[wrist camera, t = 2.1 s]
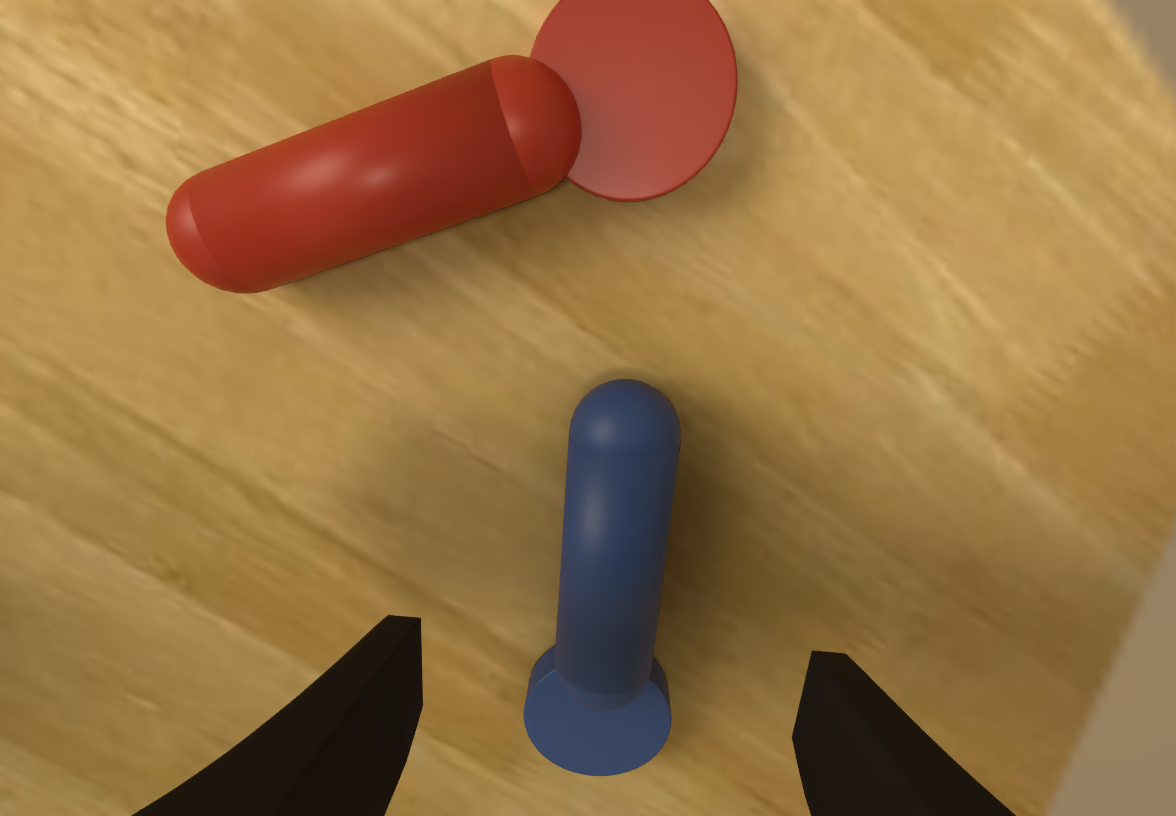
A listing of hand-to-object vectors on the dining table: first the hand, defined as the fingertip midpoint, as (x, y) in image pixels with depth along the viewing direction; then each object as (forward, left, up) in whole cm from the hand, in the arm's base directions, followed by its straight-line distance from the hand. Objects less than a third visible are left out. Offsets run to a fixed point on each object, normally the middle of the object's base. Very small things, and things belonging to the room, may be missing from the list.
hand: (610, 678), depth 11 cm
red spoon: (0, -10, -6) cm, 11 cm away
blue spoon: (+1, +2, -6) cm, 6 cm away
